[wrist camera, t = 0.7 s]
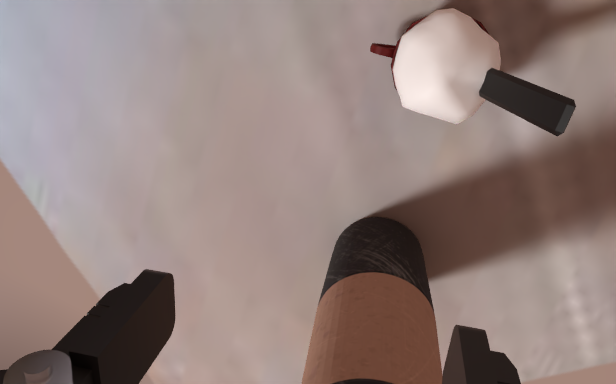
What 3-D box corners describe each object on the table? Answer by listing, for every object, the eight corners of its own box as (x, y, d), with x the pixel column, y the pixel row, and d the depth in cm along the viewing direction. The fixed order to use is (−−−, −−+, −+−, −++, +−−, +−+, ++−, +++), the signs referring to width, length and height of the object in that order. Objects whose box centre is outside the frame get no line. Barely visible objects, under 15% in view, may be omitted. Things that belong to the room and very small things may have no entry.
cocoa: (362, 57, 34) (335, 90, 23) (421, -23, 31) (421, -30, 20) (468, 138, 34) (490, 207, 24) (535, 66, 32) (594, 106, 21)
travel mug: (312, 260, 40) (249, 484, 22) (369, 194, 37) (350, 390, 19) (384, 311, 41) (381, 568, 23) (446, 251, 38) (499, 490, 20)
